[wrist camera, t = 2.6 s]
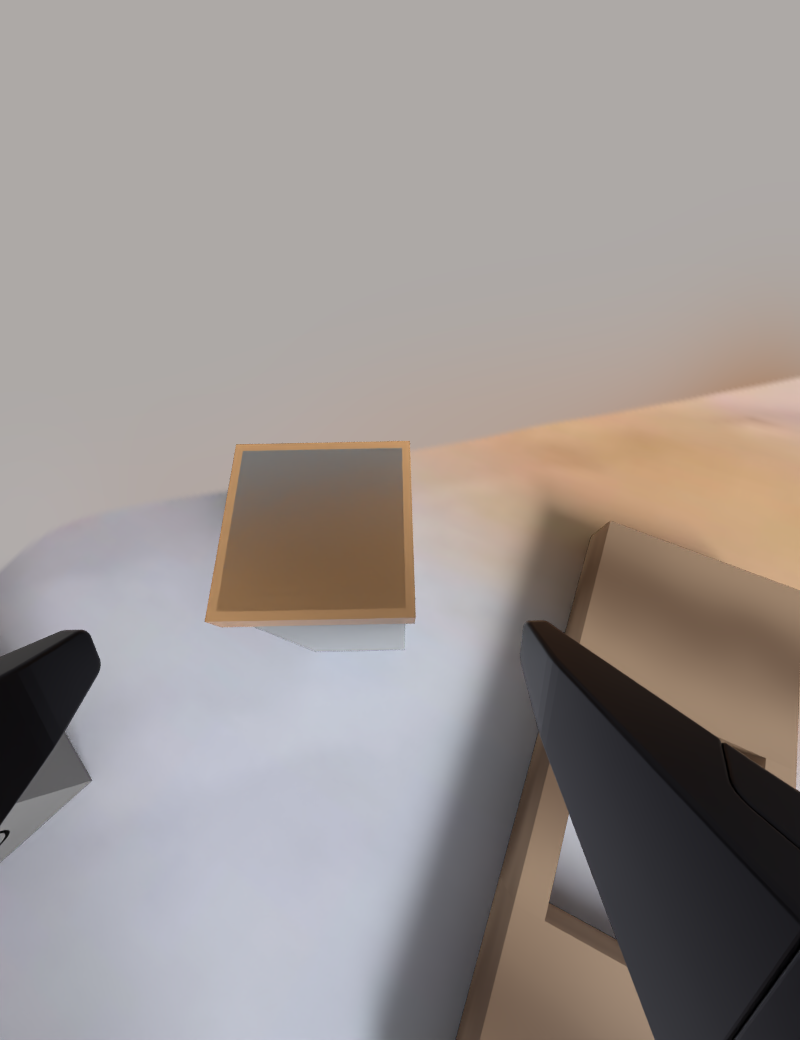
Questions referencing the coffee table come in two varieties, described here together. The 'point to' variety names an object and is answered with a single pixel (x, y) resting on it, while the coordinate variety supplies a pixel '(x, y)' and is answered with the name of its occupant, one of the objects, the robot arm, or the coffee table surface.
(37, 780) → the grey marked cube
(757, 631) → the wooden socket base
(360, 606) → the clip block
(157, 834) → the coffee table surface
